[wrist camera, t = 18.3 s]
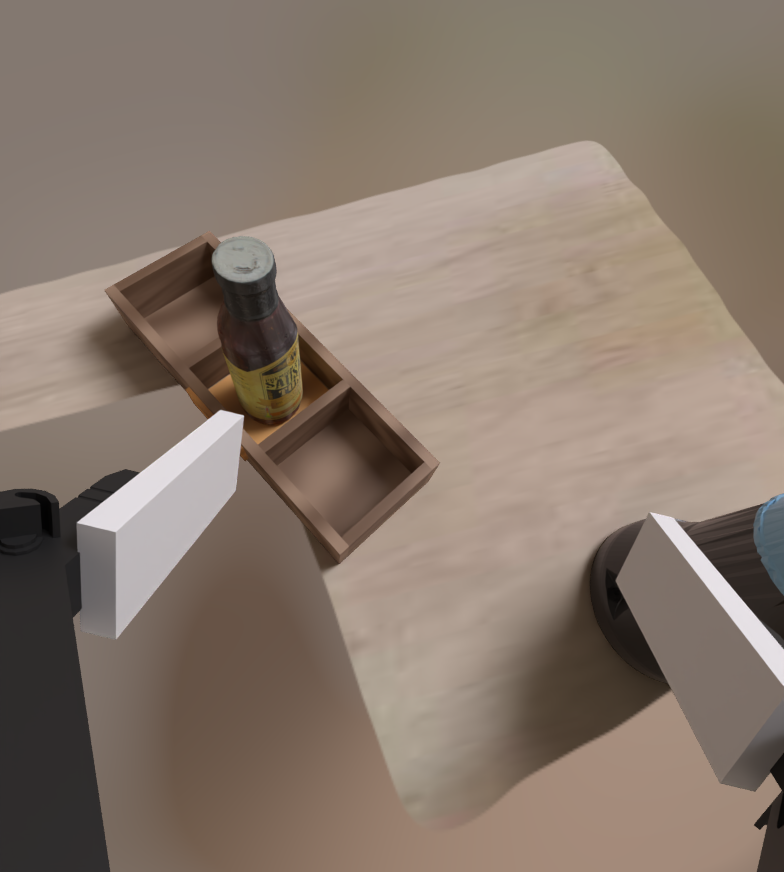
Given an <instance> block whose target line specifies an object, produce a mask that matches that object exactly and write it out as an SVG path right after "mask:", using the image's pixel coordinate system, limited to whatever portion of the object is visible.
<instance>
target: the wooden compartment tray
mask: <svg viewBox="0 0 784 872" xmlns="http://www.w3.org/2000/svg"><path fill="white" fill-rule="evenodd" d="M220 243H221V242H220V241H219V240H218V239H217V238H216V237H215V236H214V235H213V234H212V233H211V232H210V231H208V232H207V233H205V234H203V235H201V236H200V237H198V238H196V239H194V240H193V241H191V242H189V243H187V244H185V245H184V246H182V247H180V248H178V249H176V250H175V251H173V252H171V253H169V254H168V255H166V256H164V257H162V258H160V259H159V260H157V261H155V262H153V263H152V264H150V265H148V266H146V267H144V268H143V269H141V270H139V271H137V272H136V273H134V274H132V275H130V276H128V277H127V278H125V279H123V280H121V281H119V282H118V283H116V284H114V285H112V286H111V287H109V288H107V289H105V292H106V293H107V295H108V296H109V298H110V299H111V301H112V302H113V304H114V305H115V307H116V308H117V310H118V311H119V313H120V314H121V316H122V317H123V319H124V320H125V322H126V323H127V325H128V326H129V327H130V329H131V330H132V331H133V332H134V333H135V334H136V335H137V336H138V338H139V339H140V340H141V341H142V342H143V343H144V344H145V345H146V347H147V348H148V349H149V350H150V351H151V352H152V353H153V354H154V356H155V357H156V358H157V359H158V360H159V361H160V362H161V363H162V365H163V366H164V367H165V368H166V369H167V370H168V371H169V373H170V374H171V375H172V376H173V377H174V378H175V379H176V380H177V382H178V383H179V384H180V385H181V386H182V387H183V388H184V389H185V391H186V392H187V393H188V395H189V396H190V398H191V399H192V401H193V403H194V404H195V405H196V406H197V408H198V409H199V410H200V411H201V412H202V413H203V414H204V415H205V417H206V418H207V419H209V418H211V417H212V416H213V415H215V414H216V413H217V412H218V411H220V410H223V411H227V412H231V413H235V414H240V415H244V421H243V430H242V439H241V448H240V456H241V457H242V458H243V459H244V461H246V460H247V461H248V462H249V463H250V464H251V465H252V466H253V467H254V468H255V470H256V471H257V472H258V473H259V474H260V475H261V476H262V477H263V479H264V480H265V481H266V482H267V483H268V484H269V485H270V486H271V488H272V489H273V490H274V491H275V492H276V493H277V494H278V495H279V497H280V498H281V499H282V500H283V501H284V502H285V503H286V505H287V506H288V507H289V508H290V509H291V510H292V511H293V512H294V513H295V515H297V517H298V518H299V519H300V520H301V521H302V523H303V524H304V525H305V526H306V527H307V528H308V529H309V530H310V532H311V533H312V534H313V535H314V536H315V537H316V538H317V539H318V541H319V542H320V543H321V544H322V545H323V546H324V547H325V549H326V550H327V551H328V552H329V553H330V554H331V555H332V556H333V558H334V559H335V560H336V561H337V562H338V563H339V564H340V563H341V562H342V561H343V560H344V559H345V558H346V557H347V556H348V555H350V554H351V553H352V552H353V551H354V550H355V549H356V548H357V547H358V546H359V545H360V544H361V543H363V542H364V541H365V540H366V539H367V538H368V537H369V536H370V535H371V534H372V533H373V532H374V531H375V530H377V529H378V528H379V527H380V526H381V525H382V524H383V523H384V522H385V521H386V520H387V519H388V518H390V517H391V516H392V515H393V514H394V513H395V512H396V511H397V510H398V509H399V508H400V507H401V506H402V505H404V504H405V503H406V502H407V501H408V500H409V499H410V498H411V497H412V496H413V495H414V494H415V493H416V492H418V491H419V490H420V489H421V488H422V487H423V486H424V485H425V484H426V483H427V482H428V481H429V480H430V478H431V476H432V475H433V473H434V472H435V470H436V469H437V467H438V465H439V464H440V462H439V461H438V460H437V459H436V458H435V457H434V456H433V455H432V454H431V453H430V452H429V451H428V450H427V449H426V448H425V447H424V446H423V445H422V444H421V443H420V442H419V441H418V440H417V439H416V438H415V437H414V436H413V435H412V434H411V433H410V432H409V431H408V430H407V429H406V428H405V427H404V426H403V425H402V424H401V423H400V422H399V421H398V420H397V419H396V418H395V417H394V416H393V415H392V414H391V413H390V412H389V411H388V410H387V409H386V408H385V407H384V406H383V405H382V404H381V403H380V402H379V401H378V400H377V399H376V398H375V397H374V396H373V395H372V394H371V393H370V392H369V391H368V390H367V389H366V388H365V387H364V386H363V385H362V384H361V383H360V382H359V381H358V380H357V379H356V378H355V377H354V376H353V375H352V374H351V373H350V372H349V371H348V370H347V369H346V368H345V367H344V366H343V365H342V364H341V363H340V362H339V361H338V360H337V359H336V358H335V357H334V356H333V355H332V354H331V353H330V352H329V351H328V350H327V349H326V348H325V347H324V346H323V345H322V344H321V343H320V342H319V341H318V340H317V339H316V338H315V337H314V336H313V335H312V334H311V333H310V332H309V330H308V329H307V328H306V327H305V326H304V325H303V324H302V323H301V322H300V321H299V320H298V319H297V318H296V317H295V316H294V315H293V314H292V313H291V312H290V311H289V310H288V309H287V308H286V309H287V310H288V312H289V314H290V315H291V317H292V318H293V320H294V322H295V323H296V325H297V330H298V341H299V354H300V364H301V376H302V388H303V394H302V399H301V402H300V406H299V409H298V410H297V411H296V413H295V414H294V415H293V416H292V417H291V418H289V419H288V420H286V421H284V422H282V423H280V424H275V425H265V424H261V423H258V422H257V421H254V420H253V419H252V418H251V417H250V416H249V415H248V414H247V413H246V412H245V411H244V409H243V407H242V405H241V403H240V402H239V399H238V396H237V393H236V390H235V387H234V384H233V381H232V378H231V375H230V372H229V369H228V366H227V363H226V360H225V357H224V354H223V351H222V347H221V341H220V339H219V335H218V330H217V317H218V313H219V310H220V307H221V305H222V302H223V301H224V295H223V292H222V287H221V286H220V285H219V284H218V282H217V281H216V278H215V275H214V272H213V267H212V254H213V252H214V251H215V249H216V248H217V246H218V245H219V244H220Z"/></svg>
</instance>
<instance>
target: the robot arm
mask: <svg viewBox="0 0 784 872" xmlns="http://www.w3.org/2000/svg"><path fill="white" fill-rule="evenodd" d="M243 421H244V415H240V414H235V413H231V412H227V411H223V410H220V411H218V412H217V413H216V414H215V415H213V416H212V417H211V418H209V419H208V420H207V421H206V422H204V423H203V424H202V425H201V426H199V427H198V428H197V429H195V430H194V431H193V432H192V433H190V434H189V435H188V436H187V437H186V438H184V439H183V440H181V441H180V442H179V443H178V444H177V445H175V446H174V447H172V448H171V449H170V450H169V451H167V452H166V453H165V454H164V455H162V456H161V457H160V458H158V459H157V460H156V461H155V462H153V463H152V464H151V465H150V466H148V467H147V468H146V469H145V470H143V471H142V472H141V473H139V472H135V471H131V470H126V469H125V470H122V471H120V472H116V473H113V474H110V475H108V476H105V477H104V478H102V479H101V480H100V481H98V482H97V483H95V484H94V485H92V486H91V487H90V489H87V490H85V491H84V492H82V493H81V494H80V495H79V496H78V498H74V499H73V500H71V501H70V502H68V503H67V504H66V505H65V506H63V507H61V508H60V509H59V502H58V500H57V499H56V497H55V496H54V495H52V494H50V493H48V492H46V491H42V490H36V489H13V490H7V491H3V492H0V872H110V868H109V861H108V855H107V847H106V840H105V834H104V827H103V820H102V813H101V807H100V800H99V793H98V786H97V780H96V773H95V766H94V759H93V752H92V746H91V739H90V733H89V725H88V718H87V712H86V705H85V698H84V692H83V685H82V678H81V671H80V664H79V657H78V651H77V644H76V637H75V631H74V624H73V617H74V616H75V615H76V614H77V613H78V612H79V611H80V625H81V626H80V627H81V631H82V632H86V633H90V634H94V635H98V636H103V637H107V638H111V639H115V640H116V639H117V638H118V636H119V635H120V634H121V633H122V631H123V630H124V629H125V628H126V627H127V625H128V624H129V623H130V622H131V620H132V619H133V618H134V617H135V615H136V614H137V613H138V612H139V610H140V609H141V608H142V607H143V605H144V604H145V603H146V602H147V600H148V599H149V598H150V597H151V595H152V594H153V593H154V592H155V590H156V589H157V588H158V586H159V585H160V584H161V583H162V582H163V581H164V579H165V578H166V577H167V576H168V574H169V573H170V572H171V571H172V569H173V568H174V567H175V566H176V564H177V563H178V562H179V561H180V559H181V558H182V557H183V556H184V554H185V553H186V552H187V551H188V549H189V548H190V547H191V546H192V545H193V543H194V542H195V541H196V540H197V538H198V537H199V536H200V535H201V533H202V532H203V531H204V530H205V528H206V527H207V526H208V524H209V523H210V522H211V521H212V520H213V518H214V517H215V516H216V515H217V513H218V512H219V511H220V510H221V508H222V507H223V506H224V505H225V504H226V502H227V501H228V500H229V498H230V497H231V496H232V495H233V494H234V492H235V491H236V484H237V476H238V467H239V457H240V448H241V439H242V430H243ZM590 590H591V599H592V605H593V609H594V612H595V615H596V618H597V621H598V623H599V625H600V627H601V630H602V631H603V633H604V635H605V637H606V638H607V640H608V641H609V643H610V644H611V646H612V647H613V648H614V649H615V651H616V652H617V653H618V654H619V655H620V656H621V657H622V658H623V659H624V660H625V661H626V662H627V663H628V664H630V665H631V666H632V667H634V668H635V669H636V670H638V671H639V672H641V673H643V674H644V675H646V676H648V677H651V678H653V679H655V680H658V681H661V682H665V683H668V684H669V686H670V687H671V689H672V691H673V693H674V695H675V697H676V699H677V701H678V703H679V705H680V707H681V709H682V711H683V713H684V714H685V716H686V718H687V720H688V722H689V724H690V726H691V728H692V730H693V732H694V734H695V736H696V738H697V740H698V742H699V743H700V746H701V747H702V749H703V751H704V753H705V755H706V757H707V759H708V761H709V763H710V765H711V767H712V769H713V770H714V772H715V775H716V777H717V778H718V780H719V782H720V783H721V784H725V785H730V786H734V787H738V788H742V789H747V790H750V791H756V790H757V788H758V787H759V786H760V785H761V784H762V782H763V781H764V780H765V779H766V777H767V776H768V775H769V774H770V772H771V773H772V775H773V777H774V778H775V780H776V782H777V783H778V785H779V786H780V788H781V789H782V791H781V793H780V794H779V795H778V797H776V799H775V800H774V801H773V802H772V804H771V805H770V806H769V807H768V808H767V810H766V811H765V812H764V813H763V814H762V815H761V817H760V818H759V819H758V820H757V822H756V823H755V824H754V826H756V827H757V828H758V829H759V830H760V829H761V828H762V827H763V826H764V825H767V829H766V834H765V838H764V842H763V847H762V851H761V856H760V860H759V865H758V869H757V872H784V493H783V494H780V495H778V496H775V497H773V498H771V499H770V500H769V501H767V502H766V503H764V504H761V505H757V506H754V507H750V508H747V509H743V510H740V511H736V512H733V513H729V514H726V515H722V516H719V517H715V518H712V519H708V520H705V521H702V522H686V521H683V520H678V519H674V518H672V517H668V516H664V515H660V514H656V513H651V512H649V514H648V516H647V518H646V519H644V520H640V521H637V522H634V523H632V524H629V525H626V526H624V527H622V528H620V529H618V530H617V531H615V532H614V533H613V534H611V535H610V536H609V537H608V538H607V539H606V540H605V542H604V543H603V544H602V546H601V547H600V549H599V551H598V553H597V555H596V557H595V560H594V563H593V566H592V571H591V579H590Z"/></svg>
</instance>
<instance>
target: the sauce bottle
mask: <svg viewBox="0 0 784 872" xmlns="http://www.w3.org/2000/svg"><path fill="white" fill-rule="evenodd" d="M212 267H213V272H214V275H215V278H216V281H217V282H218V284H219V285H220V286H221V287H222V292H223V295H224V301H223V302H222V305H221V307H220V310H219V313H218V317H217V330H218V335H219V339H220V341H221V347H222V351H223V354H224V357H225V360H226V363H227V366H228V369H229V372H230V375H231V378H232V381H233V384H234V387H235V390H236V393H237V396H238V399H239V402H240V403H241V405H242V407H243V409H244V411H245V412H246V413H247V414H248V415H249V416H250V417H251V418H252V419H253V420H254V421H257V422H258V423H261V424H265V425H275V424H280V423H282V422H284V421H286V420H288V419H289V418H291V417H292V416H293V415H294V414H295V413H296V411H297V410H298V409H299V406H300V402H301V399H302V394H303V388H302V376H301V364H300V354H299V341H298V330H297V325H296V323H295V322H294V320H293V318H292V317H291V315H290V314H289V312H288V310H287V309H286V307H285V305H284V304H283V302H282V301H281V299H280V297H279V296H278V293H277V290H276V284H275V278H276V273H277V272H276V263H275V259H274V255H273V253H272V251H271V250H270V248H269V247H268V246H267V245H266V244H265V243H264V242H262V241H261V240H259V239H256V238H253V237H245V236H240V237H233V238H230V239H227V240H225V241H223V242H222V243H220V244H219V245H218V246H217V248H216V249H215V251H214V252H213V254H212Z"/></svg>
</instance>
